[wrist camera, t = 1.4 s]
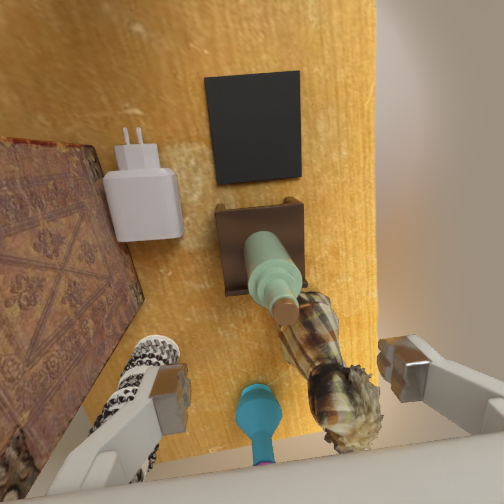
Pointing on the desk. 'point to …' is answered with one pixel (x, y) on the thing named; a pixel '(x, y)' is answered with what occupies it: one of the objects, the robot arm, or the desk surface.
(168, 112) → the desk surface
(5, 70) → the desk surface
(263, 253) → the bottle
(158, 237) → the charger
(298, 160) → the mat
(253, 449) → the perfume bottle
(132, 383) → the decorative candle
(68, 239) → the book
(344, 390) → the plush toy
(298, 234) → the shelf
